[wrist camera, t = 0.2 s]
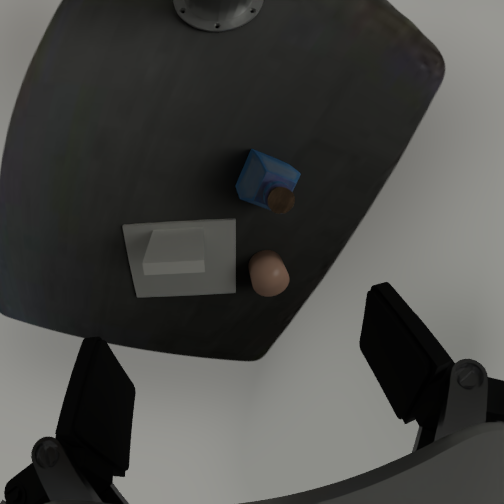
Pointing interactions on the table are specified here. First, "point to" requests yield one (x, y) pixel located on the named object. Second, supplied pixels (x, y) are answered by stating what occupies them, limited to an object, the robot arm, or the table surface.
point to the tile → (175, 252)
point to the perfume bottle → (267, 182)
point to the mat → (209, 282)
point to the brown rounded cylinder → (268, 273)
